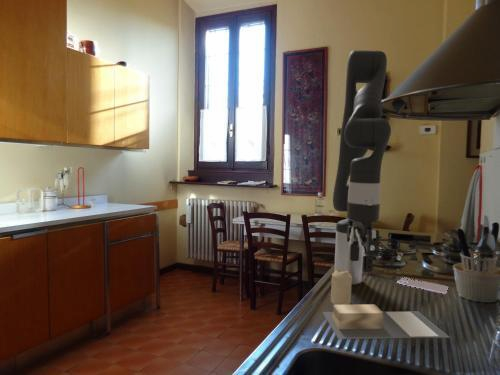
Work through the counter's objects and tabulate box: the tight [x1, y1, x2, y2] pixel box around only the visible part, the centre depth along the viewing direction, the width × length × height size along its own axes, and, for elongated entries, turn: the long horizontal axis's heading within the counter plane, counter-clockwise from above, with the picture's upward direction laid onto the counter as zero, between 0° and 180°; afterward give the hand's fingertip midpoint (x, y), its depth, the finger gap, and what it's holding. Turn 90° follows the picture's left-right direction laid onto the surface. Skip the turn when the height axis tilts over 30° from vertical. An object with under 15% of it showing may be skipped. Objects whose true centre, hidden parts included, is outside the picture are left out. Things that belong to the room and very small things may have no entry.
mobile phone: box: [396, 276, 449, 295], centre depth 118 cm, size 8×1×15 cm
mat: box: [321, 310, 451, 340], centre depth 89 cm, size 14×27×1 cm, turn 94°
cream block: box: [332, 303, 383, 329], centre depth 88 cm, size 11×5×4 cm, turn 94°
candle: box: [330, 269, 352, 305], centre depth 101 cm, size 6×6×10 cm
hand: (360, 265), depth 87 cm, fingers open, 8 cm apart
